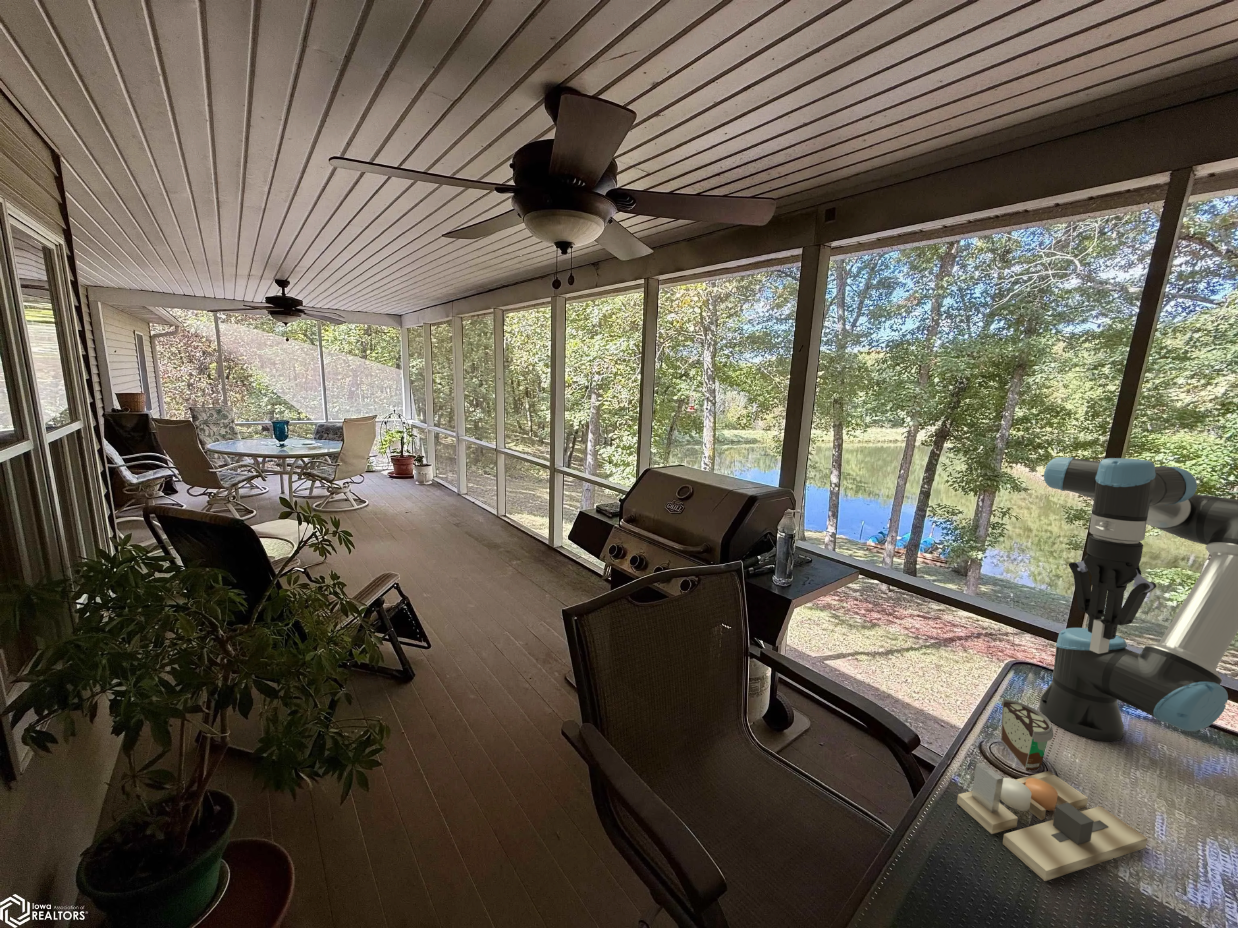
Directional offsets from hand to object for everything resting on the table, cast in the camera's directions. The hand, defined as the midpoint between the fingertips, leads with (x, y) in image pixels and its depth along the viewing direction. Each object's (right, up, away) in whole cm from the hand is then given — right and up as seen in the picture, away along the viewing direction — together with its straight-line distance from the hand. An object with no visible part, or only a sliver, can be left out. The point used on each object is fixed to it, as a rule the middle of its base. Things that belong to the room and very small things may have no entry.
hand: (1098, 650), depth 97 cm
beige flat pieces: (-16, -31, -6) cm, 35 cm away
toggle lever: (-26, -28, -4) cm, 38 cm away
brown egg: (-13, -29, -1) cm, 32 cm away
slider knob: (-15, -29, -10) cm, 34 cm away
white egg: (-20, -28, -3) cm, 34 cm away
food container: (-5, -28, +11) cm, 31 cm away
